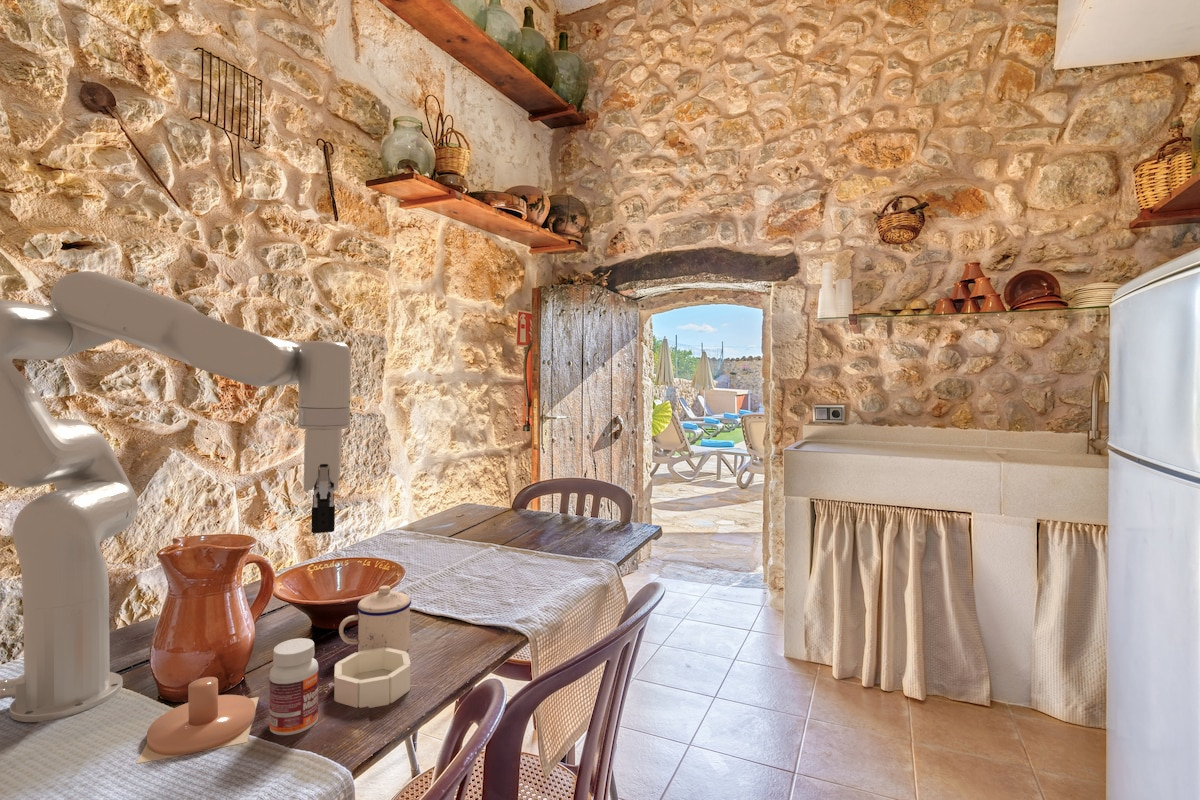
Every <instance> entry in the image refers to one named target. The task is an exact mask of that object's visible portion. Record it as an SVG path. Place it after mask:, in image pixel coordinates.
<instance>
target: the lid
mask: <svg viewBox="0 0 1200 800" xmlns="http://www.w3.org/2000/svg"><path fill="white" fill-rule="evenodd" d="M187 687H188V688H187V690H188V691H187V692H188V693H187V695H188V698H187V699H188V702H185V703H184V704H181V705H178V706H176V707H174V708H172V709H170V710H167V711H166V712H164V713H165V714H163V713H162V714H163V715H162V714H161V715H160V716H159V717H158V718H156V719H155V720H154V721H153V722H152V723H151V725H149V727H148V729H147V731H146V744H147V746H148V748H149V749H150V750H151V751H153V752H155V753H158V754H162V755H180V756H183V755H184V756H185V755H192V754H196V753H201V752H205V750H206V751H209V750H208V749H211V748H214V747H217V746H219V745H222V744H224V743H226V742H228V741H230V740H232V739H234V738H235V737H237V736H239V735H240V734H241V733H243V732H244V731H245V730H246V729H248V728H249V727H250V725H251V724H252V725H253V723H254V721H255V718H256V710H255V703H254V702H253V701H252V700H251V699H249V697H247V696H245V695H239V694H238V695H237V694H219V679H218V678H217V677H216V676H206V677H205V676H204V677H201V678H197V679H195V680H194V681H191V682H190V683H189V684H188V686H187ZM252 725H251V726H252ZM211 750H212V749H211Z"/></svg>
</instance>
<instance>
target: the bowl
mask: <svg viewBox="0 0 1200 800" xmlns="http://www.w3.org/2000/svg"><path fill="white" fill-rule="evenodd" d="M411 666H412V665H411V659H410V655H409V652H408V651H407V652H405V651H401V650H396V649H392V648H388V647H387V648H385V647H383V648H377V649H370V650H364V651H358V650H357V652H356V651H355V652H354V653H351V654H349V655H348V656H345V658H343V659H340V660H339V661H337V662H336V663H335V664H334V674H333V675H334V677H333V678H334V681H333V685H334V688H333V689H334V693H333V694H334V695H333V696H334V698H333V700H334V701H335V702H336V703H338V704H343V705H346V706H349V707H353V708H357V709H358V707H359V709H360V708H366V707H368V709H372V708H373V709H374V708H376V707H377V708H378V707H383V706H388V705H390V704H394V702H396V701H397V700H398V699H400V698H401V697H403V696H404V695H405V694H407V693H408V692H409V691H410V690H411V687H412V686H411V685H412V684H411V682H412V681H411V677H412V674H411V671H412V670H411V669H412V668H411Z"/></svg>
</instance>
